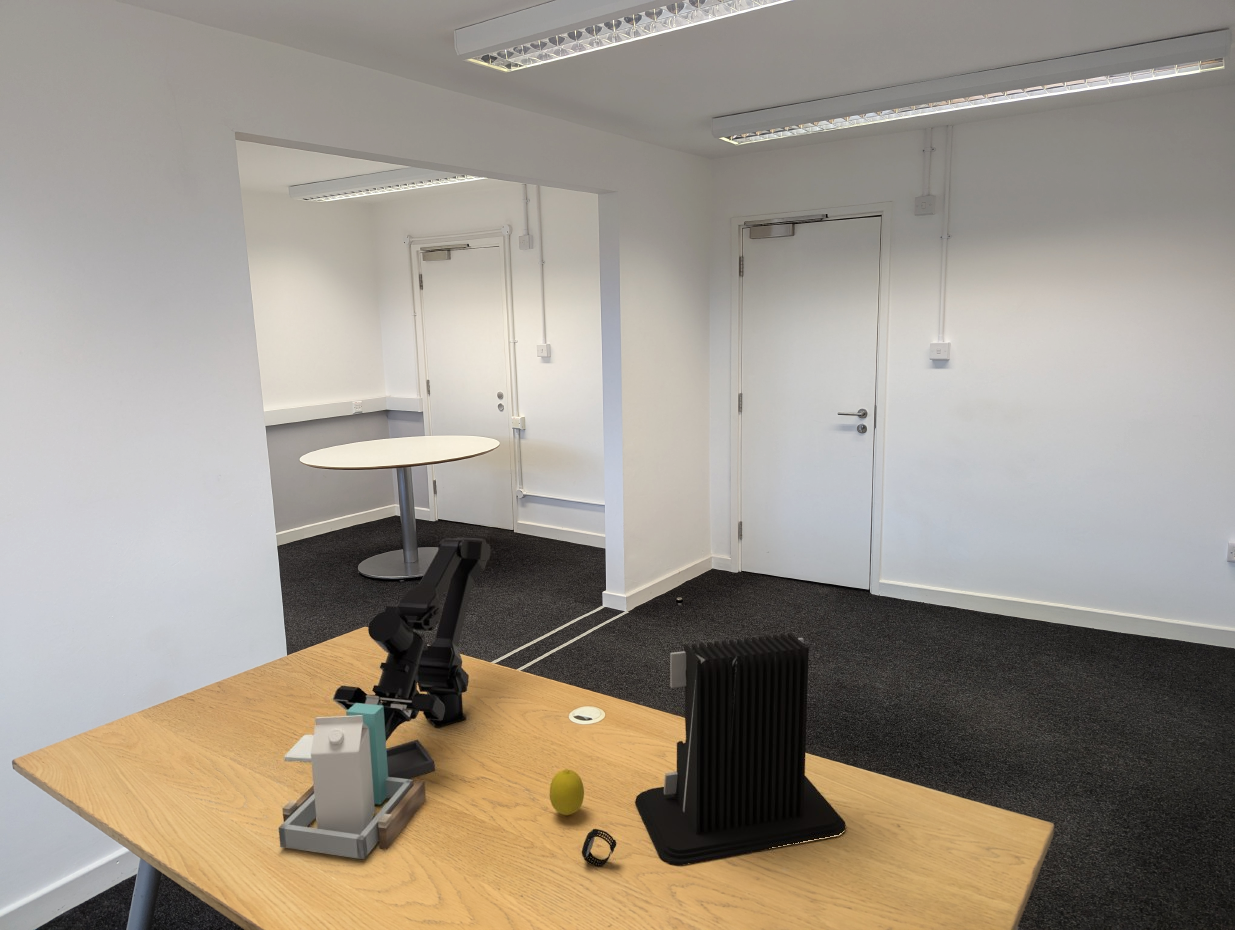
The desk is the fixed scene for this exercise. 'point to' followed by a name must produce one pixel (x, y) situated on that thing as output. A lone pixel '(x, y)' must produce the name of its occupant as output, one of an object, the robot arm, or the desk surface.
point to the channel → (388, 823)
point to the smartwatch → (589, 843)
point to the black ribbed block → (738, 755)
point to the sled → (384, 787)
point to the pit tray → (408, 760)
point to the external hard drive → (301, 750)
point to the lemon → (566, 792)
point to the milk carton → (342, 774)
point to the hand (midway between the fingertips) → (374, 753)
